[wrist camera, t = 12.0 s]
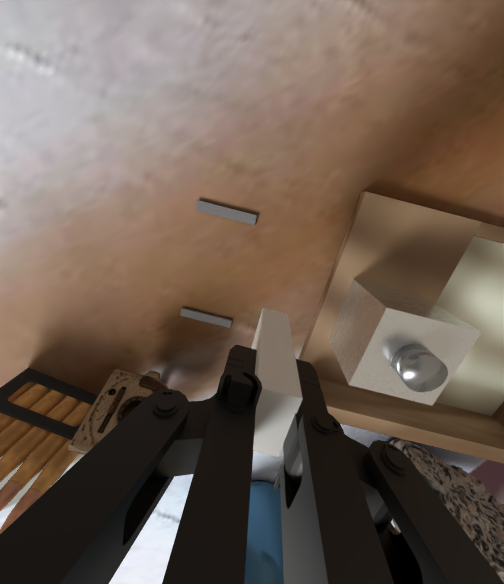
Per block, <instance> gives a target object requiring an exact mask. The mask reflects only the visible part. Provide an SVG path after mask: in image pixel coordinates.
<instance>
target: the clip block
mask: <svg viewBox="0 0 504 584" xmlns="http://www.w3.org/2000/svg"><path fill="white" fill-rule="evenodd" d="M481 333H482V332H481V331H480V330H478V329H476V328H474V327H473V326H471V325H469V324H468V323H466V322H464V321H462V320H461V319H459V318H457V317H456V316H454V315H452V314H450V313H449V312H447V311H445V310H444V309H442V308H440V307H439V306H437V305H435V304H433V303H432V302H430V301H428V300H427V299H425V298H423V297H421V296H417V295H413V294H410V293H406V292H402V291H398V290H394V289H390V288H386V287H382V286H378V285H375V284H371V283H367V282H363V281H359V280H355V279H353V281H352V283H351V285H350V288H349V290H348V293H347V295H346V297H345V300H344V302H343V305H342V307H341V309H340V312H339V314H338V317H337V319H336V321H335V324H334V326H333V329H332V331H331V334H330V336H329V338H328V340H329V342H330V344H331V346H332V349H333V351H334V353H335V355H336V358H337V360H338V362H339V364H340V366H341V369H342V371H343V373H344V375H345V378H346V380H347V382H348V384H349V385H351V386H355V387H359V388H363V389H367V390H371V391H375V392H379V393H383V394H387V395H391V396H395V397H399V398H403V399H407V400H411V401H415V402H419V403H423V404H427V405H431V406H432V405H433V404H434V402H435V401H436V399H437V398H438V397H439V395H440V394H441V392H442V391H443V389H444V388H445V386H446V385H447V383H448V382H449V380H450V379H451V377H452V376H453V374H454V373H455V371H456V370H457V368H458V367H459V366H460V364H461V363H462V361H463V360H464V358H465V357H466V355H467V354H468V352H469V351H470V349H471V348H472V346H473V345H474V343H475V342H476V340H477V339H478V338H479V336H480V335H481Z"/></svg>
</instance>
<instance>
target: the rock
mask: <svg viewBox="0 0 504 584" xmlns="http://www.w3.org/2000/svg"><path fill="white" fill-rule="evenodd" d="M390 444H392V445H394V446H396V447H397V448H398V449H399V450H401V451H402V452H403V453H404V454H405V455H406V456H407V457H408V458H409V459H410V460H411V461H412V462H413V464H414V465H415V466H416V468H417V469H418V470H419V472H420V473H421V474H422V476H423V477H424V478H425V480H426V481H427V482H428V483H429V485H430V486H431V487H432V489H433V490H434V491H435V493H436V494H437V495H438V497H439V498H440V499H441V501H442V502H443V503H444V505H445V506H446V507H447V509H448V510H449V511H450V513H451V514H452V515H453V516H454V518H455V519H456V520H457V522H458V523H459V524H460V526H461V527H462V528H463V530H464V531H465V532H466V534H467V535H468V536H469V538H470V539H471V540H472V542H473V543H474V544H475V545H476V547H477V548H478V549H479V551H480V552H481V553H482V555H483V556H484V557H485V559H486V560H487V561H488V563H489V564H490V565H491V567H492V568H493V569H494V571H495V572H496V573H497V574H498V576H499V577H500V578H501V580H502V581H503V582H504V504H501V503H500V502H498V501H496V499H495V498H494V497H493V496H491V495H490V493H489V492H488V491H487V490H486V489H485V487H484V485H483V483H482V482H481V481H479V480H478V479H476V478H475V477H472V476H471V475H469V474H468V473H467V472H465V471H464V470H463V469H462V468H460V467H456V466H454V465H450V464H447V463H445V462H444V461H443V460H440V459H439V458H437V457H436V456H435V455H433V454H431V453H430V452H428V451H427V450H426V449H425V448H423V447H422V446H420V445H417V444H414V443H412V442H409V440H405V439H394V440H392V441H391V442H390ZM393 522H394V525H395V526H396V528H397V529H398V530H399V531H400V529H399V528H398V526H397V524H396V522H395V521H394V519H393ZM400 532H401V531H400Z"/></svg>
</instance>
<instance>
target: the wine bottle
mask: <svg viewBox="0 0 504 584" xmlns="http://www.w3.org/2000/svg"><path fill="white" fill-rule="evenodd" d="M244 584H284V574H283V547H282V519H281V492H280V487H279V486H278V488H277V490H275V489H274V485H273V484H270V483H268V482H251V489H250V504H249V519H248V534H247V549H246V564H245V579H244Z"/></svg>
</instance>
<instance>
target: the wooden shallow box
mask: <svg viewBox="0 0 504 584" xmlns="http://www.w3.org/2000/svg"><path fill="white" fill-rule="evenodd" d="M353 279H355V280H359V281H363V282H367V283H371V284H375V285H378V286H382V287H386V288H390V289H394V290H398V291H402V292H406V293H410V294H413V295H417V296H421V297H423V298H425V299H427V300H428V301H430V302H432V303H433V304H435V305H437V306H439V307H440V308H442V309H444V310H445V311H447V312H449V313H450V314H452V315H454V316H456V317H457V318H459V319H461V320H462V321H464V322H466V323H468V324H469V325H471V326H473V327H474V328H476V329H478V330H480V331H481V332H482V333H481V335H480V336H479V338H478V339H477V340H476V342H475V343H474V345H473V346H472V348H471V349H470V351H469V352H468V354H467V355H466V357H465V358H464V360H463V361H462V363H461V364H460V366H459V367H458V368H457V370H456V371H455V373H454V374H453V376H452V377H451V379H450V380H449V382H448V383H447V385H446V386H445V388H444V389H443V391H442V392H441V394H440V395H439V397H438V398H437V399H436V401H435V402H434V404H433V405H432V406H431V405H427V404H423V403H419V402H415V401H411V400H407V399H403V398H399V397H395V396H391V395H387V394H383V393H379V392H375V391H371V390H367V389H363V388H359V387H355V386H351V385H349V384H348V382H347V380H346V378H345V375H344V373H343V371H342V369H341V366H340V364H339V362H338V360H337V358H336V355H335V353H334V351H333V349H332V346H331V344H330V342H329V340H328V338H329V336H330V334H331V331H332V329H333V326H334V324H335V321H336V319H337V317H338V314H339V312H340V309H341V307H342V305H343V302H344V300H345V297H346V295H347V293H348V290H349V288H350V285H351V283H352V281H353ZM298 360H302V361H306V362H310V363H311V365H312V366H313V367H314V369H315V370H316V372H317V376H318V380H319V382H320V388H321V389H322V393H323V396H324V399H325V403H326V406H327V410H328V413H329V414H331V415H332V416H333V417H334V418H335V419H336V420H337V421H338V422H339V423H340V424H344V425H348V426H353V427H357V428H361V429H365V430H369V431H373V432H377V433H381V434H385V435H389V436H393V437H397V438H401V439H405V440H409V441H414V442H418V443H422V444H426V445H430V446H434V447H438V448H442V449H446V450H450V451H454V452H458V453H462V454H466V455H471V456H475V457H479V458H483V459H487V460H491V461H495V462H499V463H503V464H504V228H503V227H499V226H496V225H492V224H488V223H484V222H480V221H477V220H473V219H469V218H465V217H461V216H457V215H454V214H450V213H446V212H442V211H438V210H435V209H431V208H427V207H423V206H419V205H416V204H412V203H408V202H404V201H400V200H396V199H393V198H389V197H385V196H381V195H377V194H374V193H370V192H361V194H360V197H359V199H358V202H357V205H356V207H355V210H354V213H353V215H352V218H351V221H350V223H349V226H348V229H347V231H346V234H345V237H344V239H343V242H342V245H341V247H340V250H339V253H338V255H337V258H336V261H335V263H334V266H333V269H332V271H331V274H330V277H329V279H328V282H327V285H326V287H325V290H324V293H323V295H322V298H321V301H320V303H319V306H318V309H317V311H316V314H315V317H314V319H313V322H312V325H311V327H310V330H309V333H308V335H307V338H306V341H305V343H304V346H303V349H302V351H301V354H300V357H299V359H298Z"/></svg>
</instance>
